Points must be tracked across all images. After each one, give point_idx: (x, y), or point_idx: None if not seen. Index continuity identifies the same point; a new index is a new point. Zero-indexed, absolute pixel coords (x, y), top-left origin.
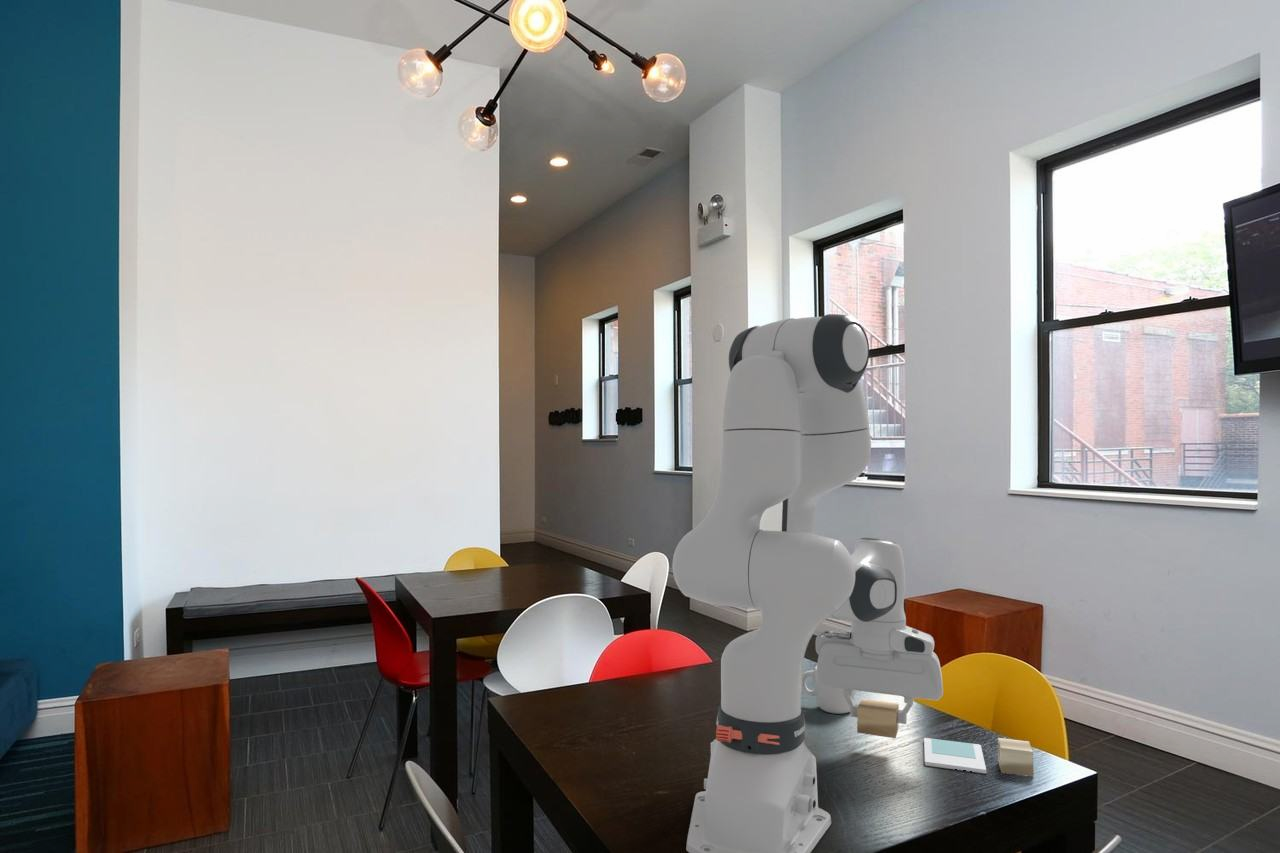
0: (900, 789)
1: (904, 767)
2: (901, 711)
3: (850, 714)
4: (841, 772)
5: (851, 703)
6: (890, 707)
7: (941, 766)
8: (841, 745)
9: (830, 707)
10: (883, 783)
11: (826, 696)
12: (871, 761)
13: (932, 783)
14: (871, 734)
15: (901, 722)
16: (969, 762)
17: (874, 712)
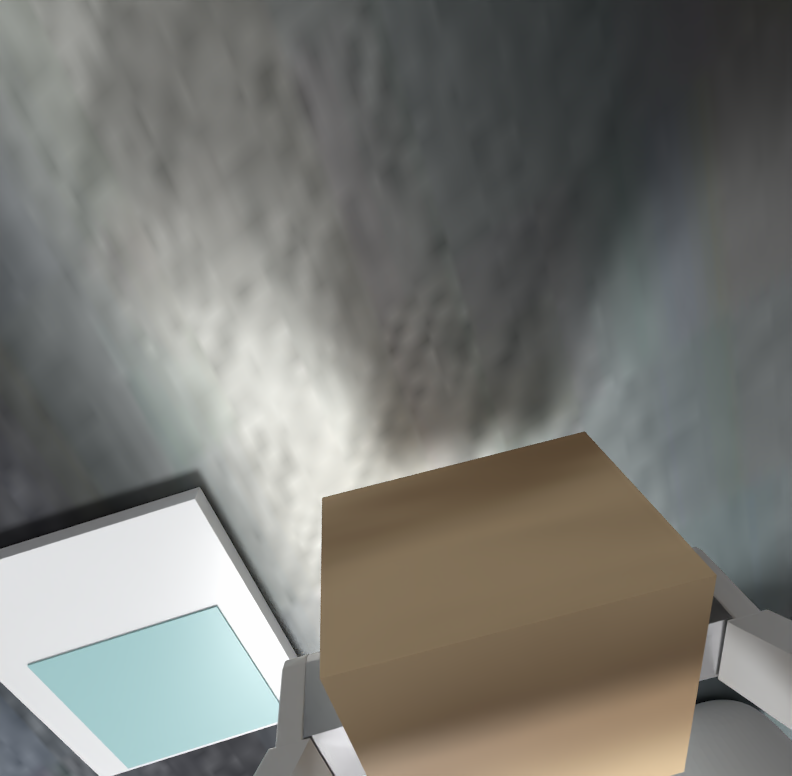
0: (136, 50)
1: (271, 403)
2: (334, 761)
3: (703, 553)
4: (549, 94)
5: (772, 639)
6: (424, 759)
7: (119, 513)
8: (620, 459)
9: (729, 719)
10: (269, 84)
11: (783, 763)
12: (442, 369)
13: (41, 289)
14: (486, 456)
15: (317, 655)
16: (21, 614)
17: (528, 598)
